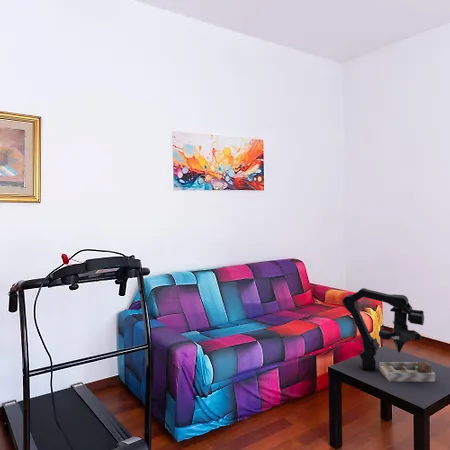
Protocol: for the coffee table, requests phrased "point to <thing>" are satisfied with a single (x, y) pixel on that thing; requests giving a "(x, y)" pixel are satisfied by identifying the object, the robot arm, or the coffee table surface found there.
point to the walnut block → (424, 367)
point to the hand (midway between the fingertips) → (398, 352)
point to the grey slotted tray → (404, 372)
